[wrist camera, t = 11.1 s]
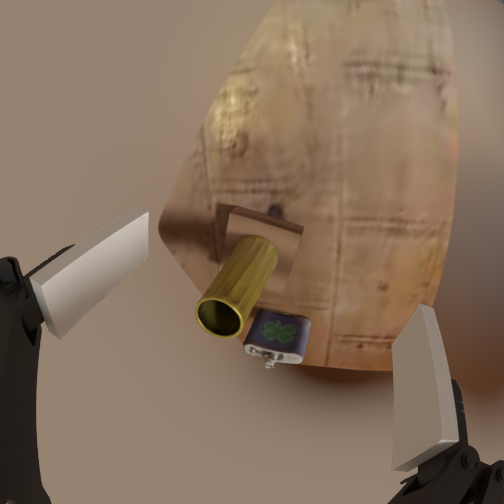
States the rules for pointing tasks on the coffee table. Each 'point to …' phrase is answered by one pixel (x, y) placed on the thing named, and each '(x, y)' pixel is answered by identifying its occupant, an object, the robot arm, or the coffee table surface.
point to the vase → (237, 288)
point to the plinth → (271, 229)
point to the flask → (278, 337)
